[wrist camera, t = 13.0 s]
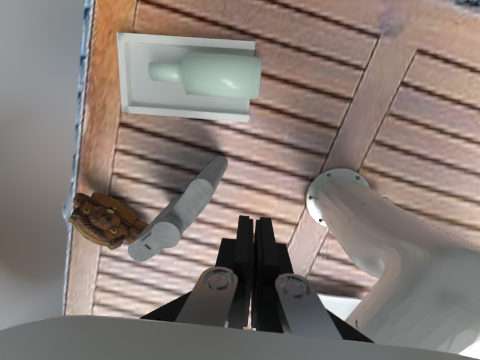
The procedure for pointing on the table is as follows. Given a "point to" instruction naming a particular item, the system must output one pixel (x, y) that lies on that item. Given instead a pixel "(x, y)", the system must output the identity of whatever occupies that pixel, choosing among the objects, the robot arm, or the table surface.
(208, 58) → the bottle
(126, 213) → the wooden carving
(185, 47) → the white rectangular tray
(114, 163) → the table surface
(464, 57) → the table surface
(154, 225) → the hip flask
